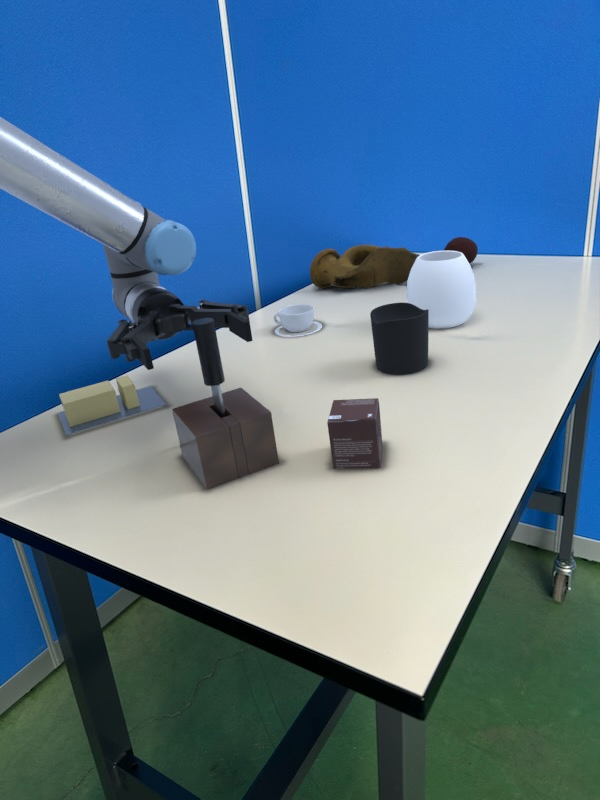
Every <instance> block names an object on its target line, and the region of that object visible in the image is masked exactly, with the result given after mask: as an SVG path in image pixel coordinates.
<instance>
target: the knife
mask: <svg viewBox="0 0 600 800" xmlns="http://www.w3.org/2000/svg"><path fill="white" fill-rule="evenodd" d="M191 325H193V330H194V331H193V334H194V335H193V336H194V339H195V344H196V350H197V355H198V360H199V364H200V369H201V373H202V380H203V384H204V385H205V386H207V387H210V390H211V394H212V396H213V401H214V406H215V411H216V414H217V415H218V416H219V417H220V418H223V417H226V413H225V408H224V403H223V398H222V393H223V392H222V388H221V385H222V384H223V383H224V382H225V379H226V378H225V374H224V367H223V362H222V357H221V353H220V352H221V351H220V347H219V340H218V336H217V335H218V334H217V331H216V330H217V329H216V328H215V324H214V319H212V318H202V319H198V320H195V321H193V322H192V324H191Z"/></svg>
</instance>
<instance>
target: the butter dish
mask: <svg viewBox="0 0 600 800" xmlns="http://www.w3.org/2000/svg"><path fill="white" fill-rule="evenodd" d="M136 393H137V397H138V401H139V404H140V406H138V407H135V408H131V409H127V407H126V406H125V404H124V403H123V401H122V400H121V397H120V394H116V397H117V400H118V404H119V408H120V411H121V412H118V413H115V414H112V415H108V416H105V417H102V418H98V419H95V420H92V421H89V422H85V423H82V424H79V425H75V426H72V427H70V425H69V423H68V420H67V418H66V415H65V412H64V410H62V411H58V412H57V415H58V417H59V420H60V423H61V425H62V428H63V430H64V433H65V435H66V436H68V435H72V434H75V433H78V432H82V431H85V430H88V429H91V428H94V427H98V426H101V425H105V424H107V423H111V422H114V421H118V420H121V419H125V418H128V417H131V416H134V415H137V414H140V413H144V412H147V411H150V410H154V409H157V408H160V407H163V406H166V405H167V403H166V402H165V401H164V400H163V398H162V397H161V396H160V395H159V394H158V392H156V390H155V389H154V388H153V387H152V386H151V385H149V386H145V387H142V388H138V389H136Z"/></svg>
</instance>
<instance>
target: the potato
mask: <svg viewBox="0 0 600 800" xmlns="http://www.w3.org/2000/svg"><path fill="white" fill-rule="evenodd" d="M443 251H458V252H461V253H463V254H464V256H465V257H466V259H467V261H468V262H469V264H470V265H471V264H472V263H473V262H474V261H475V260H476V258H477V255H478V251H479V249H478V245H477V244H476V242H475V241H474V240H473V239H471V238H469V237H465V236H458V237H457V236H456V237H453V238H452V239H451V240H449V241H448V242H447V243H446V245H445V247H444V248H443Z"/></svg>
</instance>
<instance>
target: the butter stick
mask: <svg viewBox="0 0 600 800" xmlns="http://www.w3.org/2000/svg"><path fill="white" fill-rule="evenodd" d="M58 395H59V396H58V397H59V399H60V403H61V405H62V409H63V411H64V412H65V415H66V418H67V420H68V423H69V425H70V427H72V426H75V425H79V424H82V423H85V422H89V421H92V420H95V419H98V418H102V417H105V416H108V415H112V414H115V413H118V412H121V411H120V408H119V404H118V400H117V397H116V396H117V393H116V390H115V388H114V386H113V385H112V383H111V382H110V381H109V380H104V381H101V382H97V383H94V384H91V385H87V386H83V387H80V388H76V389H72V390H67V391H66V392H62V393H58Z"/></svg>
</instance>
